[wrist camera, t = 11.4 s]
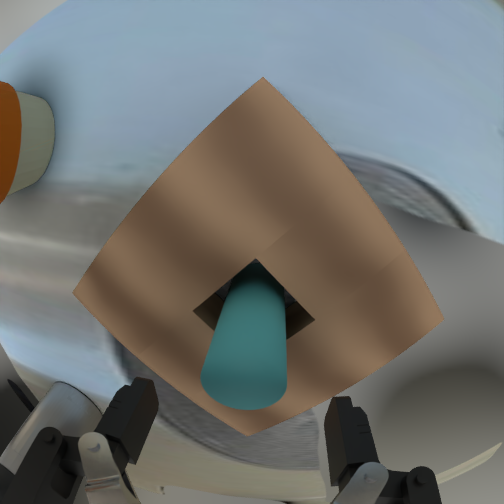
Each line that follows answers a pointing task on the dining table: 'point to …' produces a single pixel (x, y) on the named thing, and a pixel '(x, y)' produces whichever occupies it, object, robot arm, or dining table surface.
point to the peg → (249, 343)
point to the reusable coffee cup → (23, 139)
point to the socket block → (260, 260)
